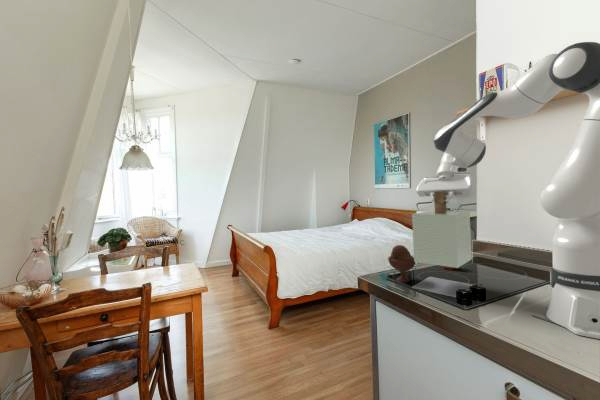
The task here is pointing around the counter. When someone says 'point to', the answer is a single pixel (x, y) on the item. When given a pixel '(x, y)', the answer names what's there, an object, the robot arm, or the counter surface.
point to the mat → (441, 286)
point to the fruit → (449, 267)
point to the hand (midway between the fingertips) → (439, 202)
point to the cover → (442, 235)
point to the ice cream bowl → (401, 261)
